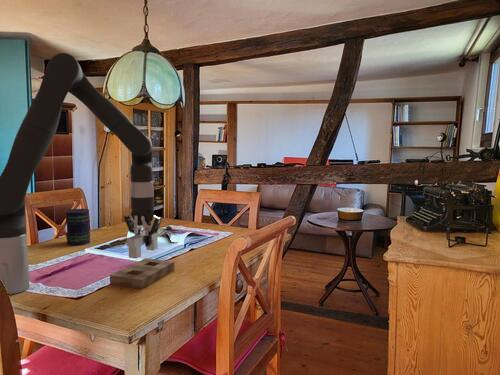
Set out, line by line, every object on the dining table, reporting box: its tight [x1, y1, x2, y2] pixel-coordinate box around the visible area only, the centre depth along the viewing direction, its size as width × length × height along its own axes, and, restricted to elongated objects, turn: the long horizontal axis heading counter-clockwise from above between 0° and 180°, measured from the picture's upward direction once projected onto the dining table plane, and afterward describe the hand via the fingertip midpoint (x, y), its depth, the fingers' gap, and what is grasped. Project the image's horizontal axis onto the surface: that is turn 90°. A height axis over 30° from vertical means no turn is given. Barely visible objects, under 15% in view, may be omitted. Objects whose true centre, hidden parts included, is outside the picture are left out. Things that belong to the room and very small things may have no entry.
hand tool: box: [165, 225, 174, 232], centre depth 187 cm, size 19×4×5 cm, turn 19°
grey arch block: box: [126, 230, 160, 260], centre depth 132 cm, size 14×3×6 cm, turn 161°
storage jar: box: [65, 208, 91, 247], centre depth 175 cm, size 10×10×15 cm
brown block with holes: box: [109, 257, 175, 290], centre depth 133 cm, size 20×12×3 cm, turn 161°
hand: (143, 245), depth 132 cm, fingers closed on grey arch block, 3 cm apart
